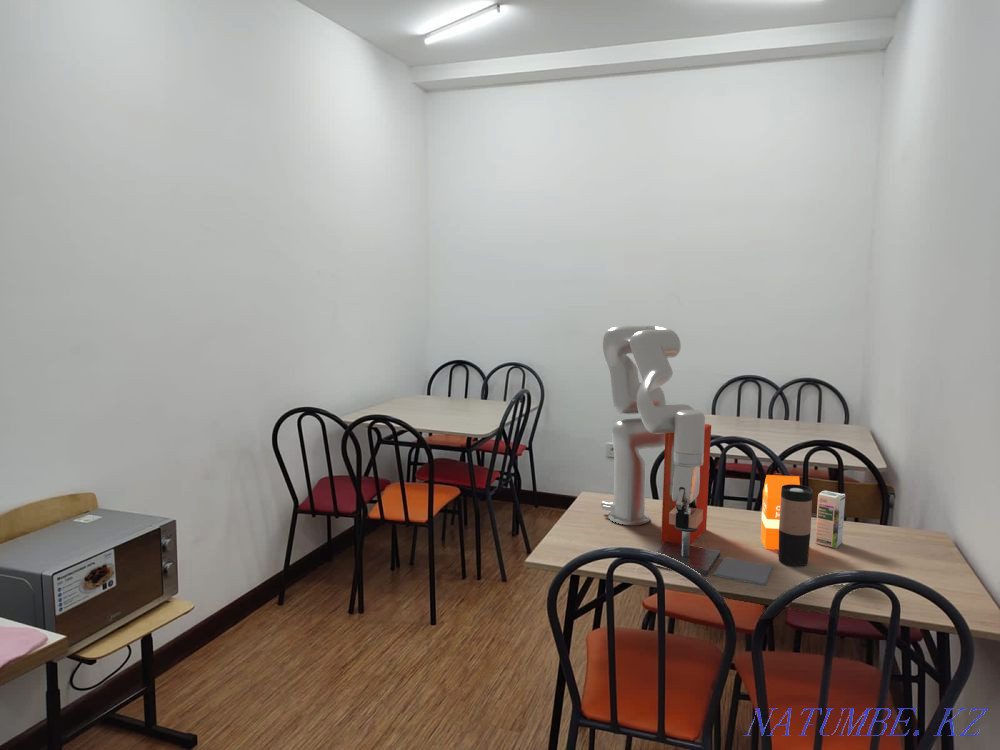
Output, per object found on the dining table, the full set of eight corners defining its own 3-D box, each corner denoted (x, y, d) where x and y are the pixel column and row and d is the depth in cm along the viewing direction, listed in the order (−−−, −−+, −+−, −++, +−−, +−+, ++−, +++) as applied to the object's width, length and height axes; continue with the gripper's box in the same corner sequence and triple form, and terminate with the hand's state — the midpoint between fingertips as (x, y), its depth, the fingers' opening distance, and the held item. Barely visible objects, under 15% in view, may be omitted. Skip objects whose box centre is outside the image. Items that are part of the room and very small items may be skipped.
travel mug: (773, 556, 190) (776, 484, 187) (801, 556, 189) (805, 484, 187) (783, 567, 182) (787, 492, 179) (813, 567, 182) (817, 492, 179)
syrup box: (814, 543, 198) (817, 493, 197) (821, 538, 203) (824, 489, 201) (835, 548, 195) (839, 498, 193) (842, 543, 199) (846, 493, 197)
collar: (668, 523, 184) (669, 512, 184) (676, 515, 190) (676, 505, 190) (695, 528, 181) (696, 517, 180) (702, 520, 187) (703, 509, 186)
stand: (648, 564, 184) (650, 511, 182) (665, 546, 197) (666, 495, 195) (706, 576, 177) (709, 520, 175) (720, 556, 190) (722, 504, 188)
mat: (714, 575, 177) (714, 573, 177) (724, 559, 188) (724, 557, 187) (764, 585, 171) (764, 583, 171) (772, 568, 182) (772, 565, 182)
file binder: (707, 529, 210) (711, 424, 205) (689, 548, 195) (693, 435, 191) (680, 524, 214) (684, 421, 210) (661, 542, 200) (664, 432, 195)
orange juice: (798, 551, 193) (802, 480, 190) (764, 548, 195) (768, 478, 192) (792, 541, 201) (796, 472, 198) (760, 538, 202) (763, 471, 200)
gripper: (683, 448, 192) (680, 511, 195) (664, 463, 177) (662, 531, 180) (710, 452, 189) (708, 516, 191) (694, 467, 174) (691, 536, 176)
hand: (685, 522), depth 186 cm, fingers closed on collar, 7 cm apart
